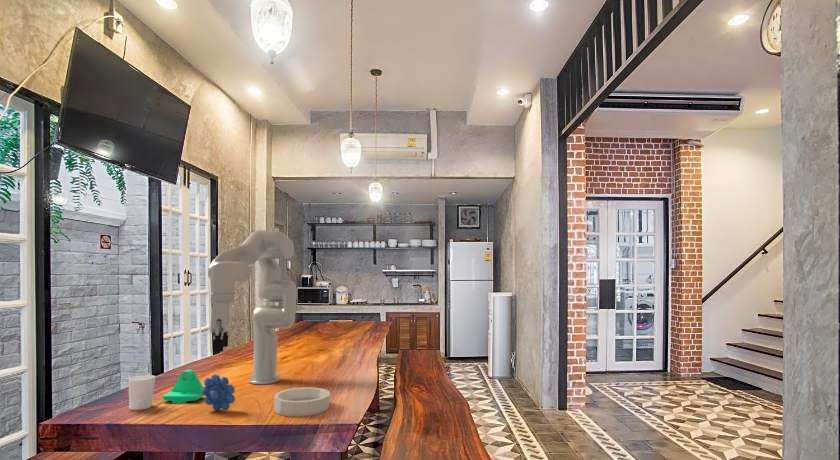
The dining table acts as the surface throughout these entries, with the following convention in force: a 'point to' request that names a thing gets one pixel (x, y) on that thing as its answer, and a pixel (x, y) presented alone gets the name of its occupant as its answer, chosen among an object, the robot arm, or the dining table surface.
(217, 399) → the blue gear
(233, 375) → the dining table surface
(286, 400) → the fruit bowl
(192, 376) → the camera mount
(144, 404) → the white cup
